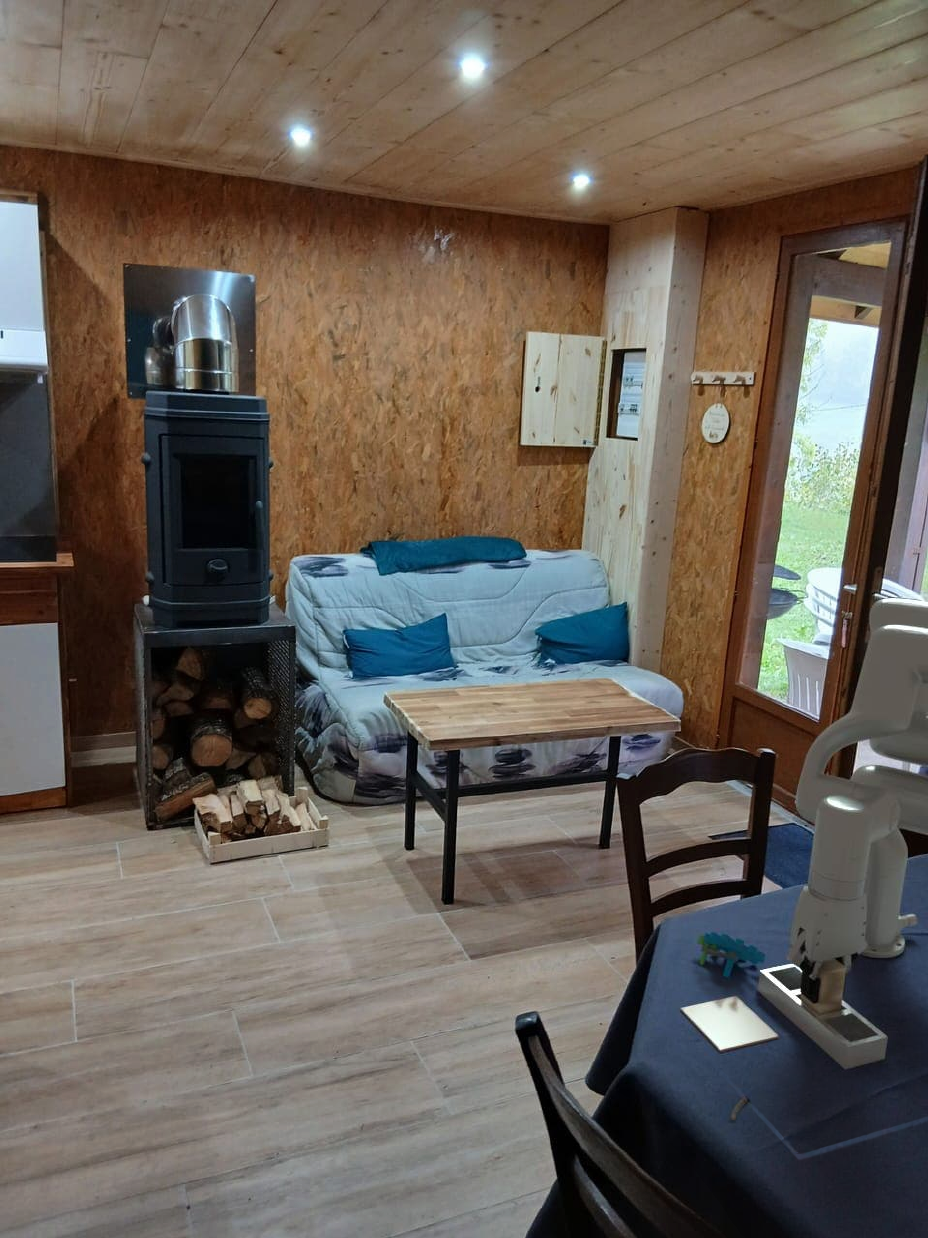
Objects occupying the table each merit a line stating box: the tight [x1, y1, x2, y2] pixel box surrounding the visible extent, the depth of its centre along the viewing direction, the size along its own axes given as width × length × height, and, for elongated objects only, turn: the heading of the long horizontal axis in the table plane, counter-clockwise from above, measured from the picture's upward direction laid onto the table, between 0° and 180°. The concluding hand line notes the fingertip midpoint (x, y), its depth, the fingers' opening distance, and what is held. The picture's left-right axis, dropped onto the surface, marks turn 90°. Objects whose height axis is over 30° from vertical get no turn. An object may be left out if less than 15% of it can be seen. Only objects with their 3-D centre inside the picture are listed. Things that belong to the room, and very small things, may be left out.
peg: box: [800, 958, 847, 1016], centre depth 139 cm, size 4×4×10 cm
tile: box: [680, 995, 779, 1053], centre depth 139 cm, size 10×10×1 cm
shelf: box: [757, 963, 889, 1070], centre depth 139 cm, size 7×19×4 cm, turn 21°
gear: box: [696, 931, 766, 979], centre depth 152 cm, size 11×6×10 cm
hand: (821, 994), depth 139 cm, fingers closed on peg, 4 cm apart
